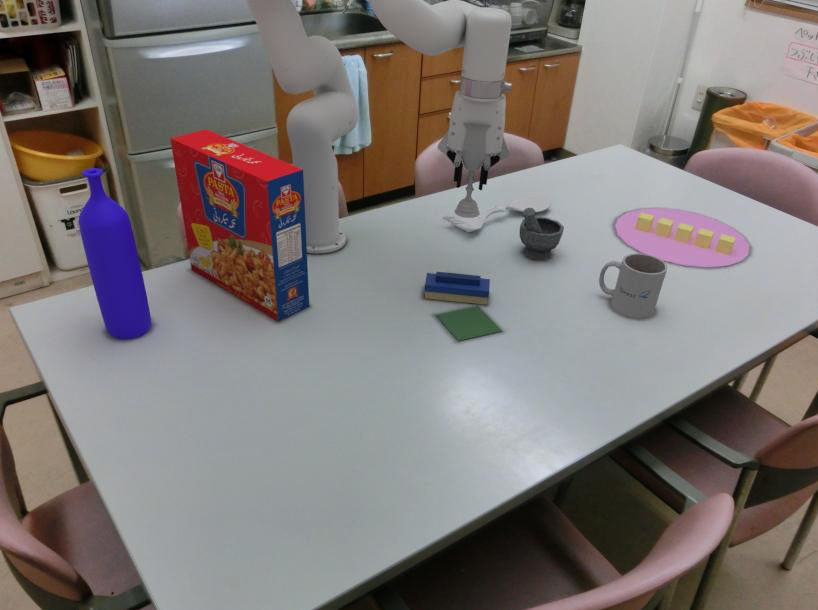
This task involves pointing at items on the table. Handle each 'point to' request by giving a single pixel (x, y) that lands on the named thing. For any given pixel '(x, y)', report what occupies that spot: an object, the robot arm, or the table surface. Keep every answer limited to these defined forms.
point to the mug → (636, 284)
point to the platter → (682, 237)
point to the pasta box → (244, 221)
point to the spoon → (518, 204)
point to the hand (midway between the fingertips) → (469, 185)
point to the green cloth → (468, 323)
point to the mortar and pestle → (539, 234)
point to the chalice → (472, 166)
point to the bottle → (113, 262)
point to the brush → (457, 287)
